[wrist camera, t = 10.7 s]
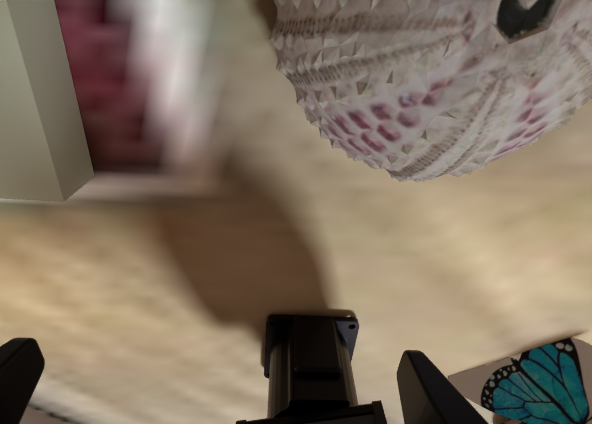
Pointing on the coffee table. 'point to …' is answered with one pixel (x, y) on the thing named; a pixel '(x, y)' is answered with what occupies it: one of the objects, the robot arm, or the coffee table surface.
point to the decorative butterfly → (535, 385)
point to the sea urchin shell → (435, 76)
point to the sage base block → (38, 107)
